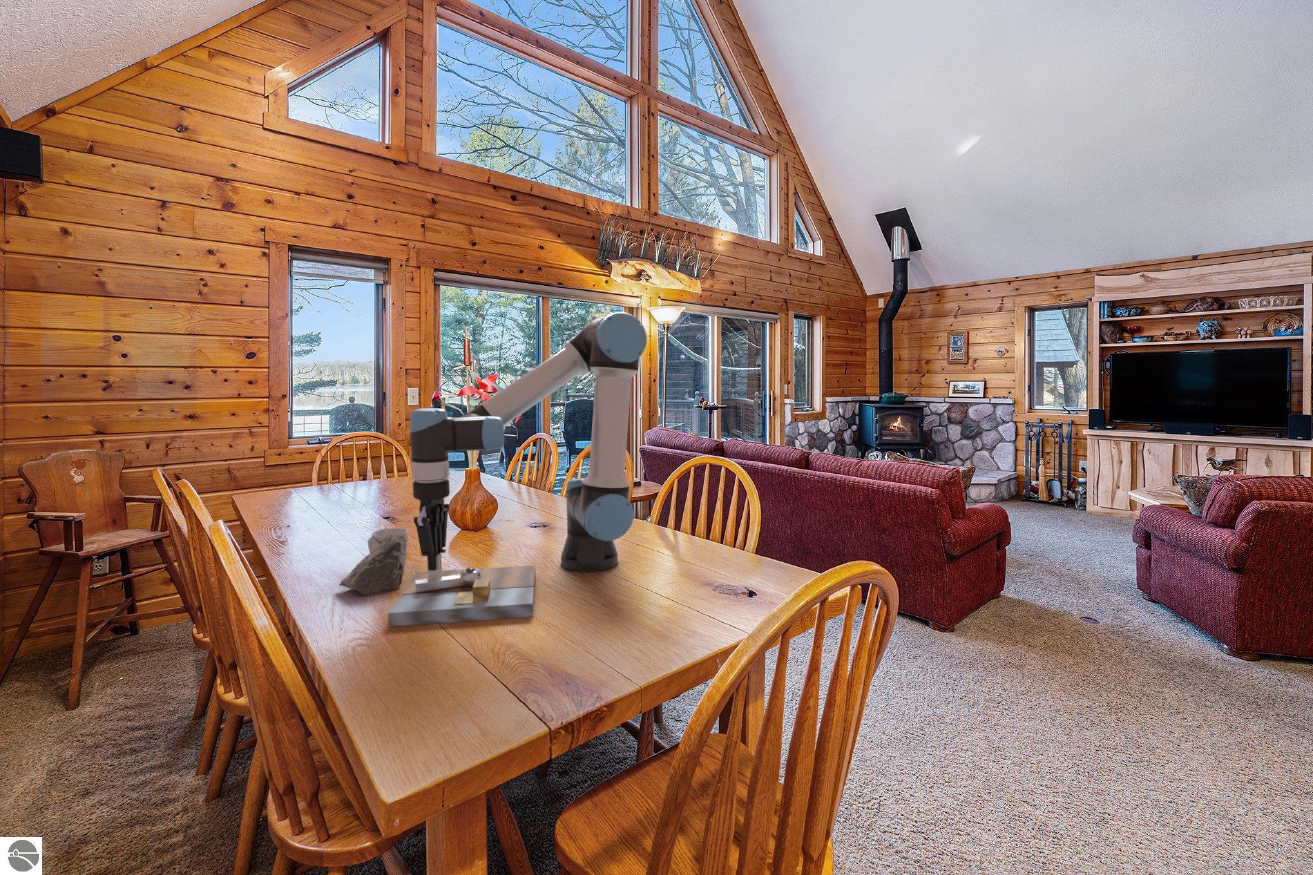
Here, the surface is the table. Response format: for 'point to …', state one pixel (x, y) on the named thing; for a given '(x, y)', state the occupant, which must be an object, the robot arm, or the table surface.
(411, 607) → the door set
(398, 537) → the mug
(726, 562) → the table surface
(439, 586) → the latch bar
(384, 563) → the rock
